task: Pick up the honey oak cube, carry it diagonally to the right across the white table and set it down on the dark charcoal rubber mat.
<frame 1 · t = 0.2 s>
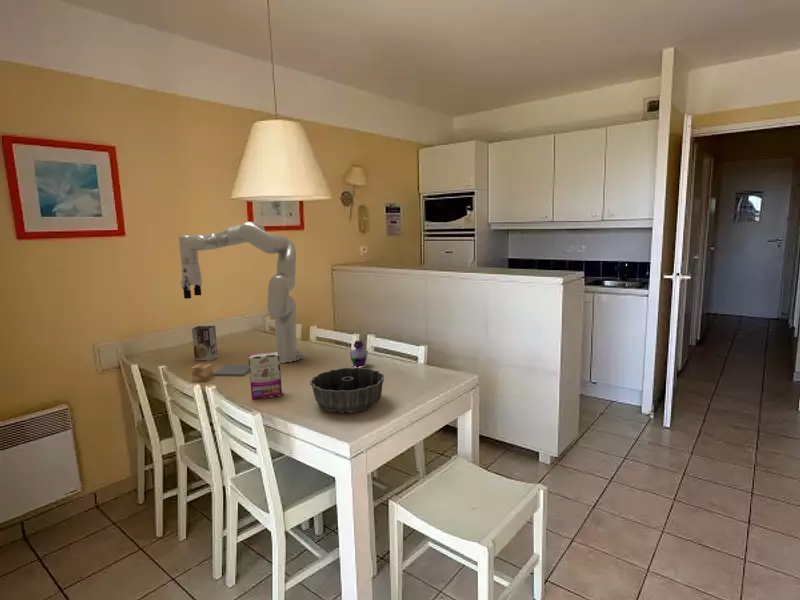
hand: (193, 296, 226), 31 cm above the table, tool pointing down, fingers open, 9 cm apart
coffee box: (206, 359, 231), on the table
potion bottle: (359, 366, 214), on the table
bundt pan: (348, 405, 169), on the table
oak cube: (203, 379, 200), on the table
charcoal mat: (234, 371, 210), on the table
candy bar box: (266, 396, 179), on the table
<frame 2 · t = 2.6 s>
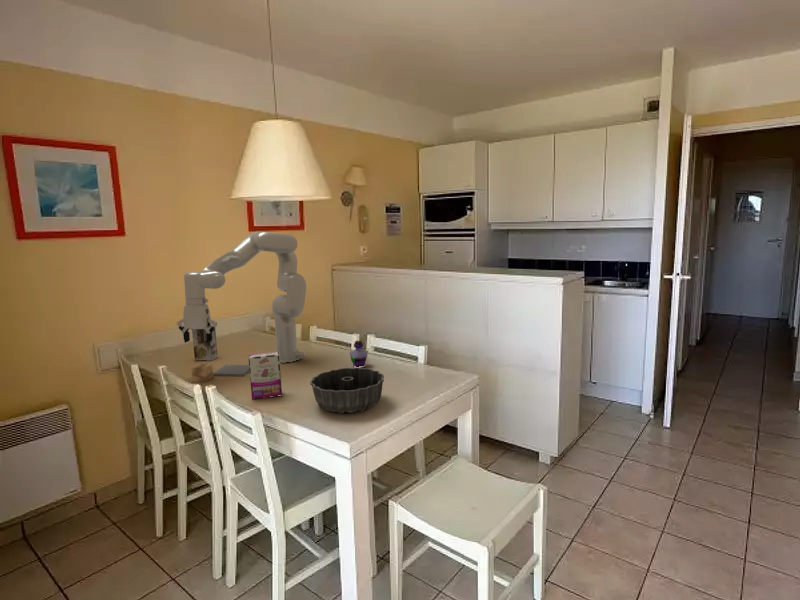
hand: (198, 342, 197), 16 cm above the table, tool pointing down, fingers open, 9 cm apart
nothing on the table moved.
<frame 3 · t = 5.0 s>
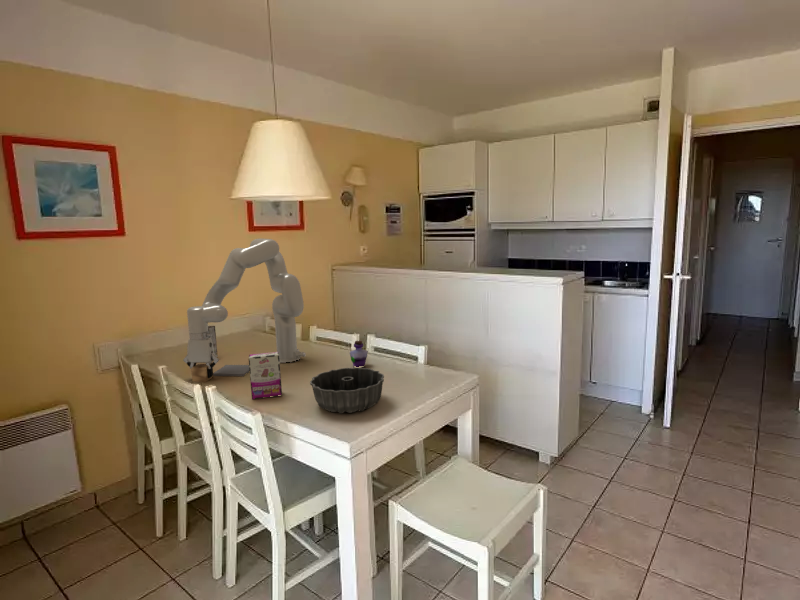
hand: (202, 376, 200), 1 cm above the table, tool pointing down, fingers closed on oak cube, 6 cm apart
oak cube: (202, 379, 200), on the table, touching gripper
everything else where it was.
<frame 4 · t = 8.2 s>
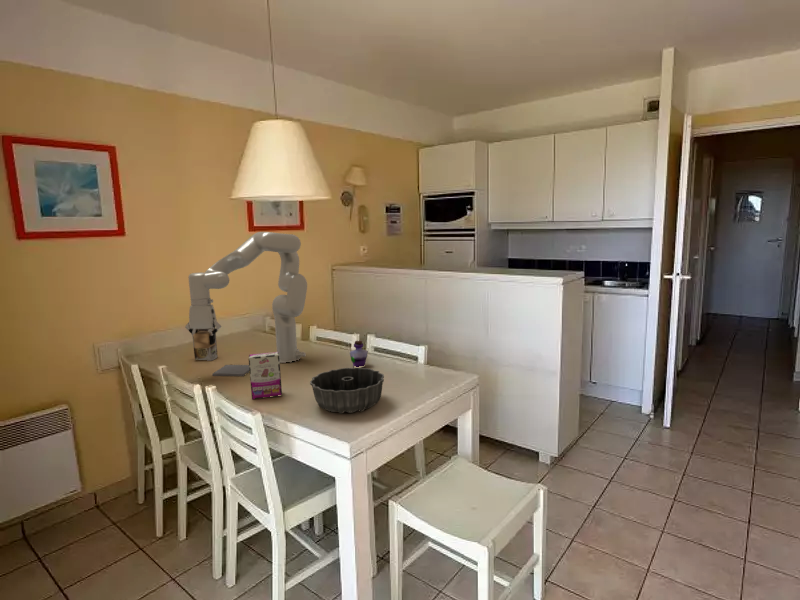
hand: (204, 343, 199), 15 cm above the table, tool pointing down, fingers closed on oak cube, 6 cm apart
oak cube: (205, 346, 199), point 14 cm above the table, touching gripper
everything else where it was.
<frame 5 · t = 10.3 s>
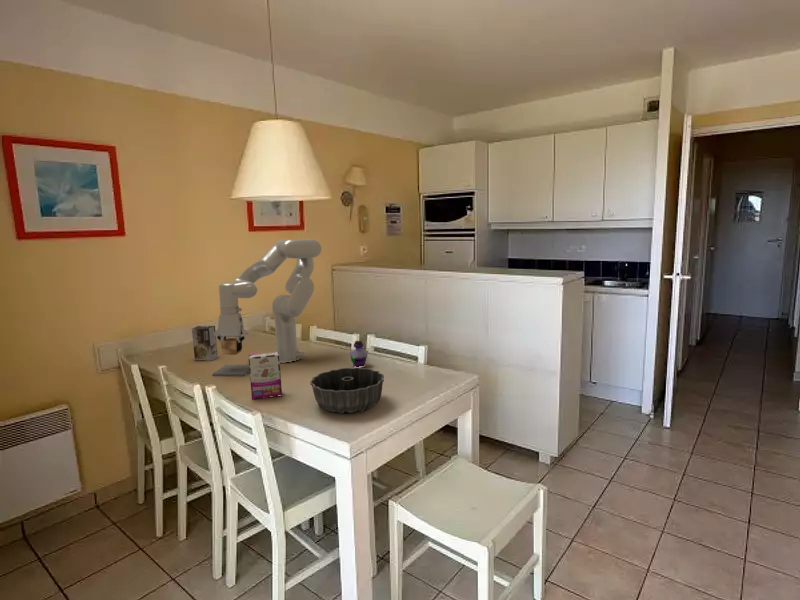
hand: (232, 350, 208), 10 cm above the table, tool pointing down, fingers closed on oak cube, 6 cm apart
oak cube: (232, 352, 209), point 9 cm above the table, touching gripper
everything else where it was.
when the fingers open (4 cm above the table, at t = 11.9 s): oak cube drops 1 cm, resting on charcoal mat.
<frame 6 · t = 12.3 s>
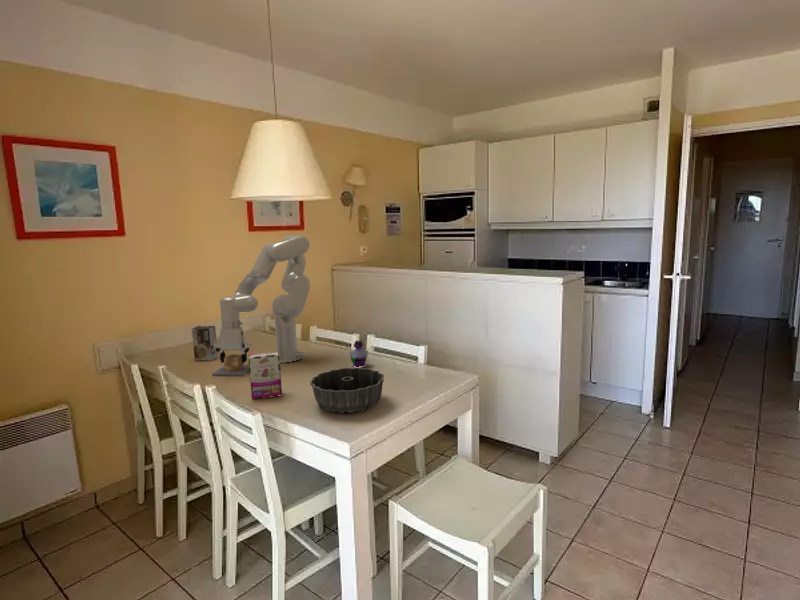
hand: (233, 362, 210), 4 cm above the table, tool pointing down, fingers open, 9 cm apart
oak cube: (234, 369, 210), point 1 cm above the table, touching charcoal mat
everything else where it was.
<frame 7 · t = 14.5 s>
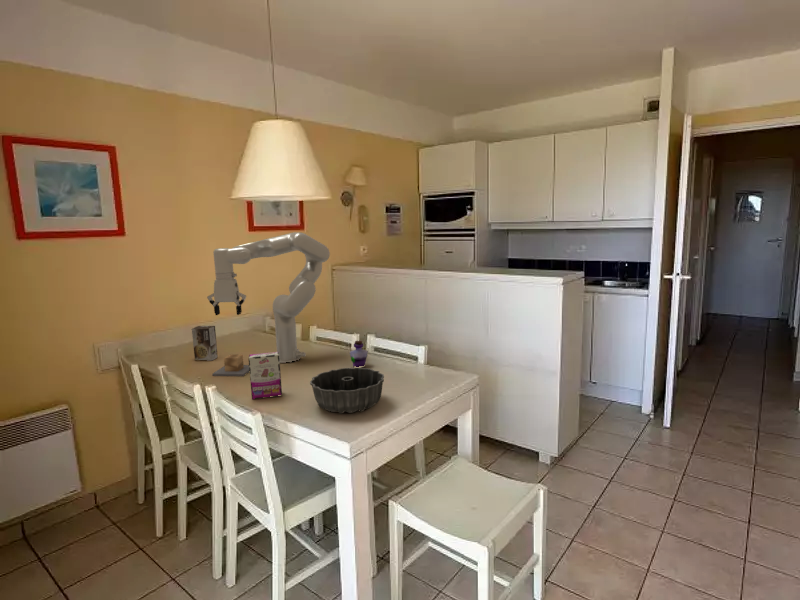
hand: (228, 314, 209), 25 cm above the table, tool pointing down, fingers open, 9 cm apart
nothing on the table moved.
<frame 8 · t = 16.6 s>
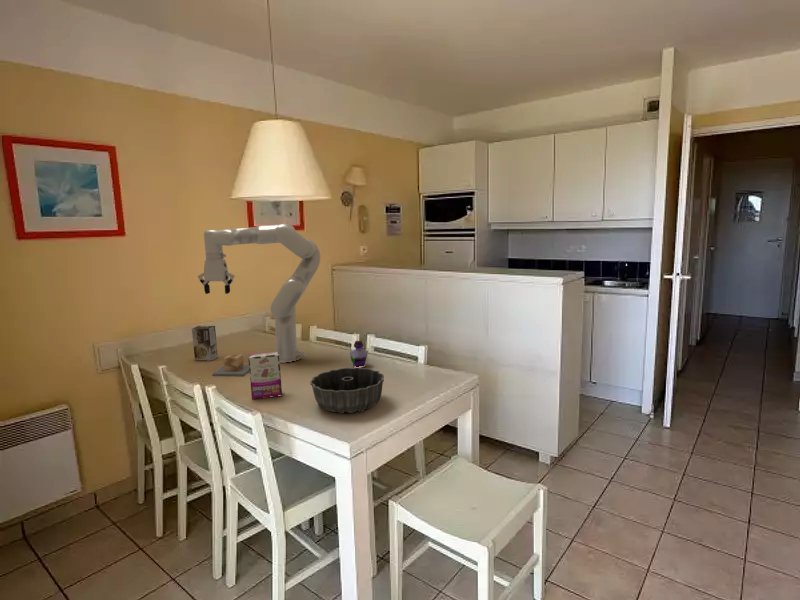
hand: (217, 293, 220), 33 cm above the table, tool pointing down, fingers open, 9 cm apart
nothing on the table moved.
at the end: oak cube inside the target area on the charcoal mat (0.0 cm from its centre), point 1.0 cm above the charcoal mat's base; oak cube tilted 0°; the gripper is holding nothing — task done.
